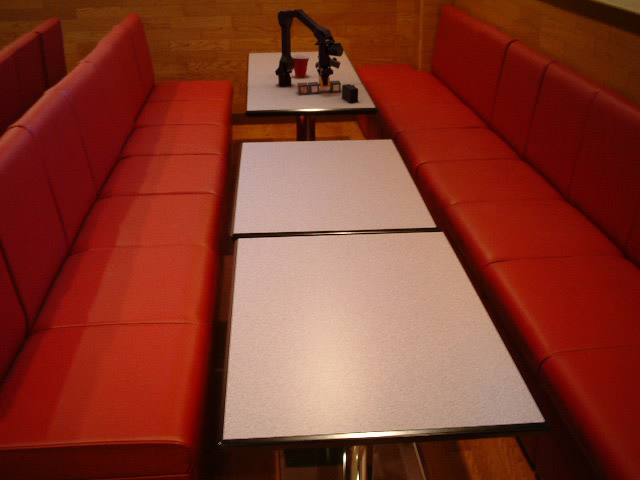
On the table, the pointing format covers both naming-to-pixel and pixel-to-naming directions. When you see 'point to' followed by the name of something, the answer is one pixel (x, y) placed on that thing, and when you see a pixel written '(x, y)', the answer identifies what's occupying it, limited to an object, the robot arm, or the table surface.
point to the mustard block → (323, 84)
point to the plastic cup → (300, 65)
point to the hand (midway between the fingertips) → (324, 84)
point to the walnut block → (302, 88)
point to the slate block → (313, 87)
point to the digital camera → (350, 93)
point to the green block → (335, 86)
